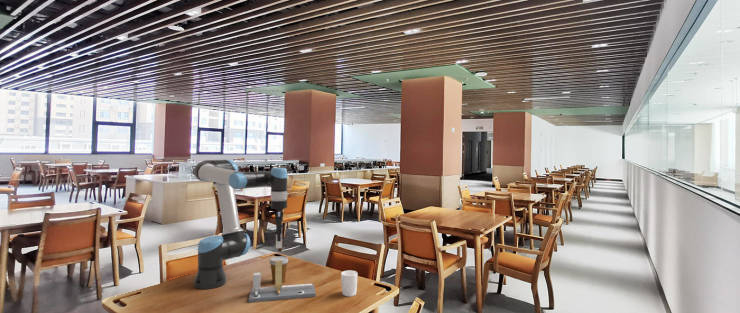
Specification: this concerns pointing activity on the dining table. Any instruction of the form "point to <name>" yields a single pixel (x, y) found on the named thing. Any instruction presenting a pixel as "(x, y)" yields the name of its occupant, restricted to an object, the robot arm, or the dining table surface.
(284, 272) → the disposable coffee cup
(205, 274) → the robot arm
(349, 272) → the white cup
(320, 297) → the dining table surface
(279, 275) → the gold pointer slider
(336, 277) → the dining table surface
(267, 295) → the gauge plate
